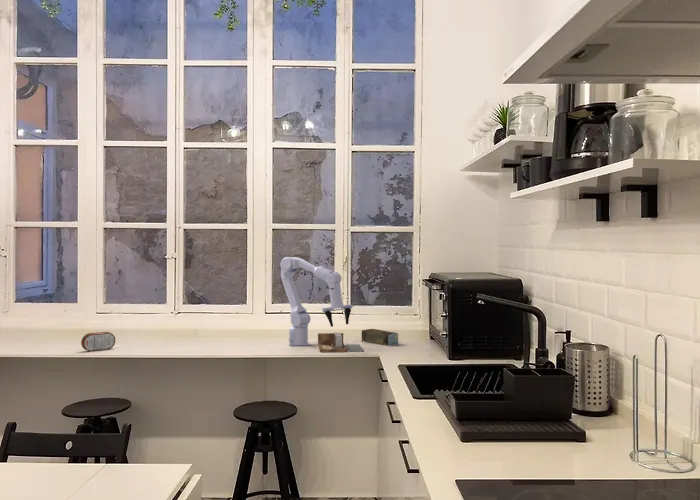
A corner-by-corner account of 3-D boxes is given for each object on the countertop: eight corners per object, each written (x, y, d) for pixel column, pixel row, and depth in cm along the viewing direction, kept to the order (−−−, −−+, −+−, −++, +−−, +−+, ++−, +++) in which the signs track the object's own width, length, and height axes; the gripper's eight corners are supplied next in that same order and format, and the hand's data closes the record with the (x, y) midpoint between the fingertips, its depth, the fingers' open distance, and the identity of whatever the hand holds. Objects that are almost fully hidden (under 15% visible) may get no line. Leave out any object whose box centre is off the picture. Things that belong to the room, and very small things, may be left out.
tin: (113, 348, 284) (113, 330, 284) (116, 349, 282) (116, 331, 282) (80, 351, 274) (80, 333, 274) (83, 352, 272) (83, 334, 272)
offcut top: (324, 351, 279) (324, 349, 279) (321, 346, 292) (321, 345, 292) (331, 351, 280) (331, 349, 279) (328, 346, 292) (328, 344, 292)
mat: (349, 351, 278) (349, 350, 278) (345, 345, 295) (345, 344, 295) (363, 351, 278) (363, 350, 278) (359, 345, 296) (359, 344, 296)
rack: (320, 352, 276) (320, 339, 275) (317, 345, 295) (317, 333, 295) (347, 351, 277) (347, 339, 277) (343, 345, 296) (343, 333, 296)
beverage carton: (388, 346, 294) (388, 333, 294) (360, 342, 308) (360, 329, 308) (398, 344, 300) (398, 331, 299) (371, 340, 313) (371, 327, 313)
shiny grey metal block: (336, 350, 280) (336, 335, 280) (334, 346, 291) (334, 332, 291) (341, 350, 281) (341, 335, 281) (339, 346, 292) (339, 332, 292)
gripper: (322, 299, 282) (326, 327, 281) (352, 295, 286) (356, 323, 285) (320, 299, 289) (323, 327, 288) (348, 295, 293) (352, 323, 292)
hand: (339, 325), depth 287 cm, fingers open, 7 cm apart
